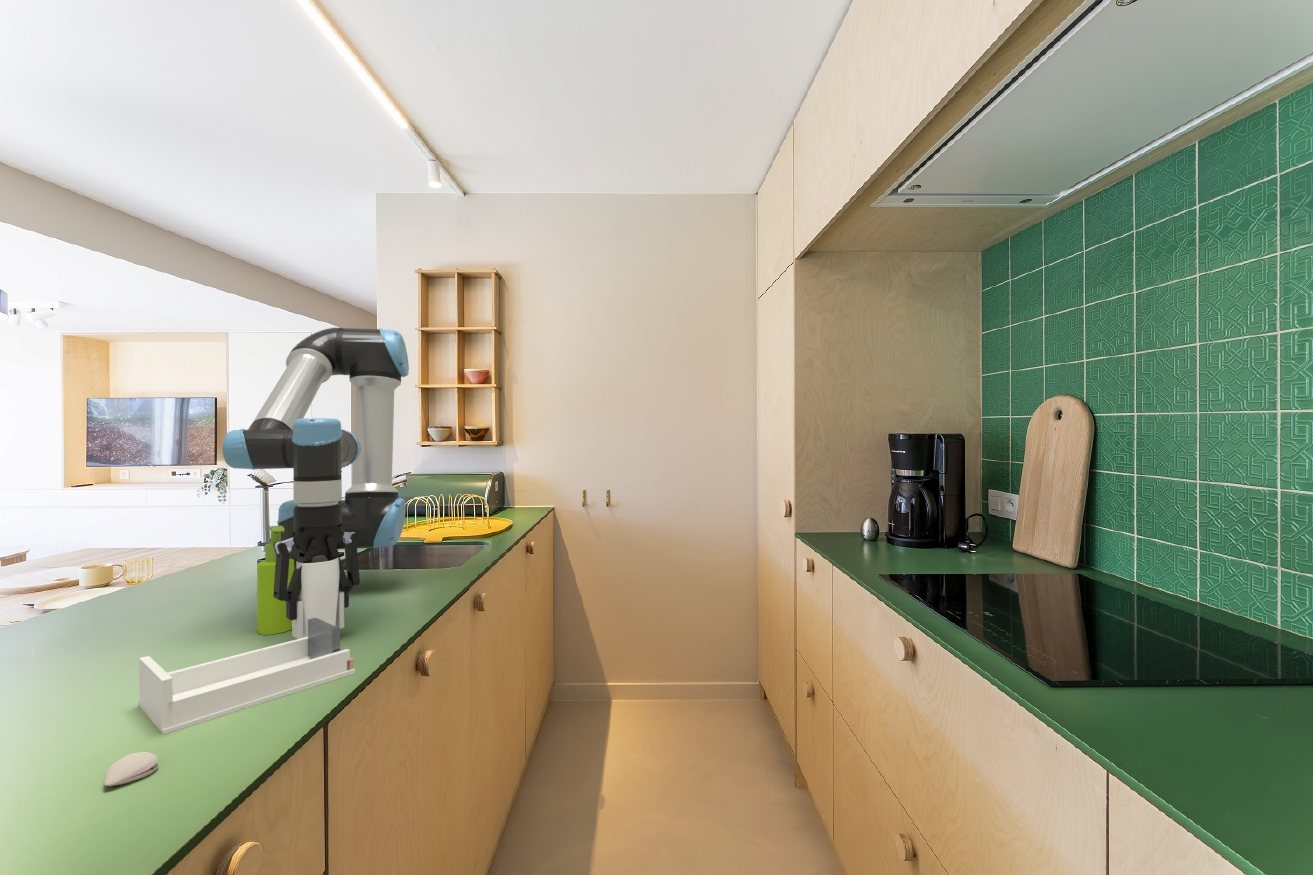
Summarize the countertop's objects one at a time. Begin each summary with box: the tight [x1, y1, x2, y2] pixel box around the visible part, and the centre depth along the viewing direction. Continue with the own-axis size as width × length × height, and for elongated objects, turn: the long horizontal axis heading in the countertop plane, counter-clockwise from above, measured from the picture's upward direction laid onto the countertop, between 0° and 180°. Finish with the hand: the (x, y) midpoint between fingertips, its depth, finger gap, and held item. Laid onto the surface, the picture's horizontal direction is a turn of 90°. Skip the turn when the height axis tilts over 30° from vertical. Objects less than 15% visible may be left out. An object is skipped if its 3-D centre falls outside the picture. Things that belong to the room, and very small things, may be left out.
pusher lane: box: [138, 637, 356, 735], centre depth 83 cm, size 23×13×7 cm, turn 142°
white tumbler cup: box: [296, 556, 340, 638], centre depth 102 cm, size 7×7×15 cm
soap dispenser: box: [256, 525, 294, 636], centre depth 109 cm, size 6×7×20 cm
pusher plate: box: [308, 618, 341, 659], centre depth 91 cm, size 1×9×6 cm, turn 52°
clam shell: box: [103, 751, 159, 787], centre depth 61 cm, size 4×5×2 cm
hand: (318, 631), depth 102 cm, fingers closed on white tumbler cup, 6 cm apart
